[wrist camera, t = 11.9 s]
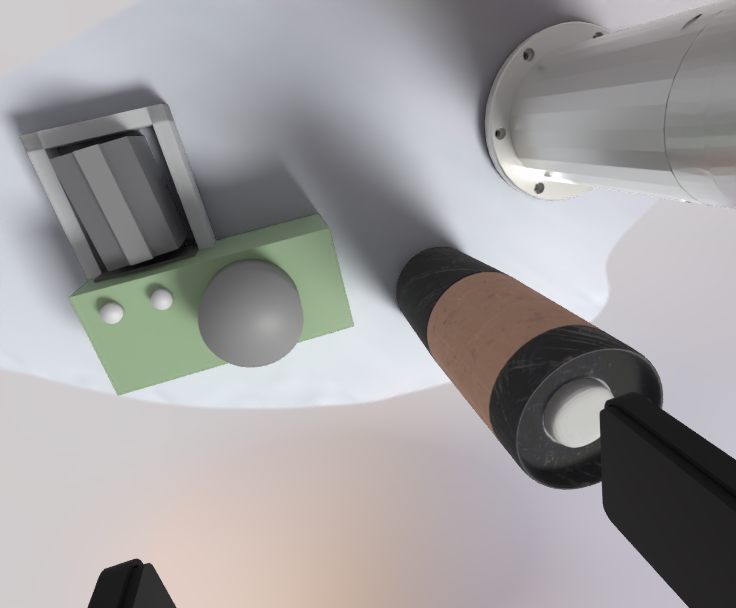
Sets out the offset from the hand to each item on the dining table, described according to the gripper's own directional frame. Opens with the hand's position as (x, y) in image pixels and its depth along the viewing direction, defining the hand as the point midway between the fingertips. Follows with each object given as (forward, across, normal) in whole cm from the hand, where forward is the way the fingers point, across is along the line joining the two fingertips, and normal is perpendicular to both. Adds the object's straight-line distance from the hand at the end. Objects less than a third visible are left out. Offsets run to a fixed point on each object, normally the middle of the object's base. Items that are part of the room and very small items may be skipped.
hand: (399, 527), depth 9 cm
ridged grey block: (+28, +10, -6) cm, 31 cm away
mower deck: (+28, +6, -3) cm, 29 cm away
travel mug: (+28, -10, +7) cm, 31 cm away
